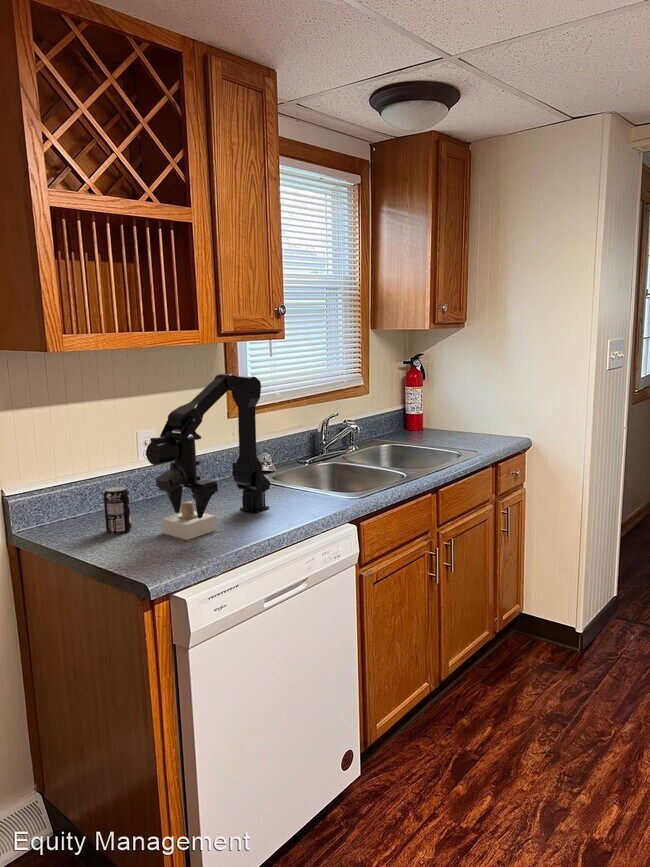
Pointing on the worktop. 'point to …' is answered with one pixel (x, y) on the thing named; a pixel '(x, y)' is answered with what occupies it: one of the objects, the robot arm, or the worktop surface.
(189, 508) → the peg
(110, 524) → the beverage can
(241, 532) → the worktop surface
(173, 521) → the socket
